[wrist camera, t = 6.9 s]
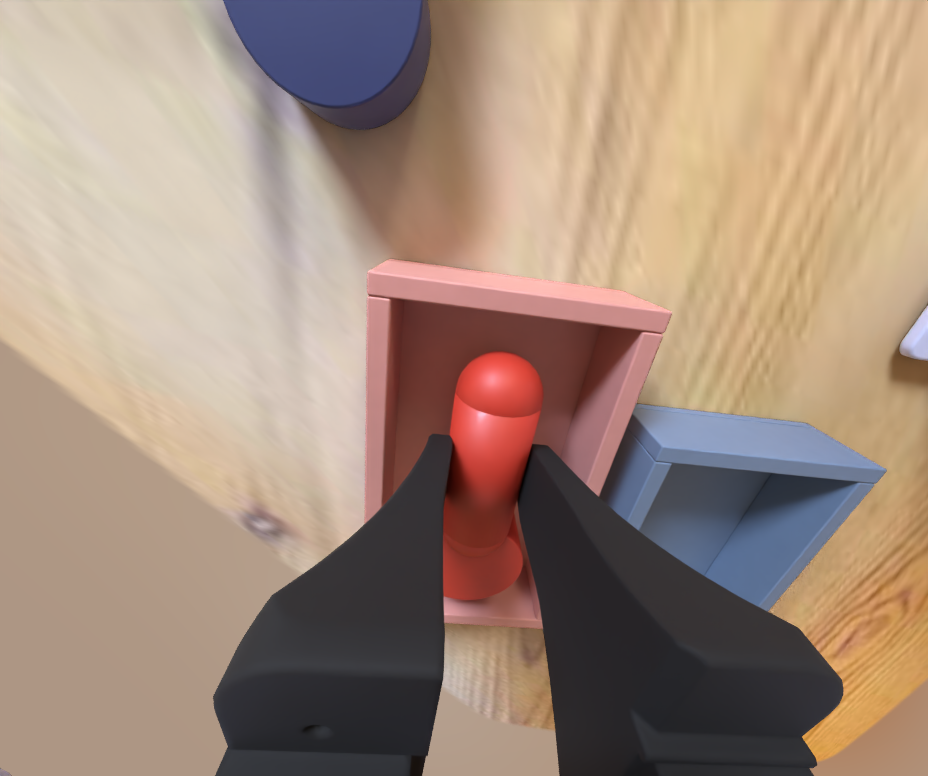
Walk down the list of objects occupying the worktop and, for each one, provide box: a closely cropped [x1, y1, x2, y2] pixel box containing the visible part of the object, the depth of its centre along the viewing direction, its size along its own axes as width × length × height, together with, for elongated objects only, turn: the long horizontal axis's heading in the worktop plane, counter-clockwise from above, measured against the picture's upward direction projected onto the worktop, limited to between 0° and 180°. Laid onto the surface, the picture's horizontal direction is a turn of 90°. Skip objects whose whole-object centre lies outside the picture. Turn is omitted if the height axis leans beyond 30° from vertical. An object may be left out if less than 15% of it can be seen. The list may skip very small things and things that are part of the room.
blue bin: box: [543, 404, 887, 633], centre depth 15 cm, size 14×8×3 cm, turn 172°
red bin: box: [365, 259, 672, 629], centre depth 13 cm, size 14×8×3 cm, turn 172°
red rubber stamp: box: [443, 351, 544, 600], centre depth 12 cm, size 10×4×3 cm, turn 172°
